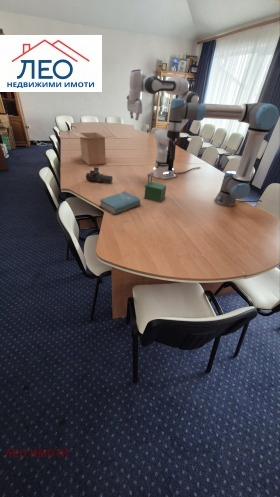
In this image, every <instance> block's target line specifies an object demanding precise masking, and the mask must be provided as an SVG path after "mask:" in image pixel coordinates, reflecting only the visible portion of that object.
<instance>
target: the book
mask: <svg viewBox="0 0 280 497" xmlns="http://www.w3.org/2000/svg"><path fill="white" fill-rule="evenodd" d="M99 201H100V205H99V207H101V208H103V209H104V210H105V211H107V212H109V213H111V214H113V215H116V214H119V213H122V212H124V211H128V210H130V209H132V208H133V209H134V208H135V207H138V206H140V205H141V198H139V197H137V196H135V195H133V194H131V193H128V192H126V191H122V192H119V193H116V194H113V195H110V196H106V197H104V198H100V199H99Z"/></svg>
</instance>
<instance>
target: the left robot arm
mask: <svg viewBox="0 0 280 497" xmlns="http://www.w3.org/2000/svg"><path fill="white" fill-rule="evenodd" d="M128 84H129V91H128V92H129V93H128V95H126V100H127V101H126V107H127V108H126V109H127V112H129V116H130V119H134V114H135V121H139V118H140V115H141V114H143V101H142V93H145V94H150V95H155V94H157V93H159V92H166V94H168V95H171V96H172V95H173V96H175V99H184V100H185V103H186V104H187V103H189V102H192V103H199V100H200V98H199V94H198V93H197V92H195V91H192V90H191V91H190V90H189V88H190V83H189V80H187V79H186V78H183V77H180V76H179V77H178V76H172V77H168V78H167V79H160V78H159V77H158V76H156V75H150V76H148V75H147V74H145V73H144V72H143V71H142V69H141V68H139V69H133V70H131V71H130V74H129V83H128ZM188 122H189V120H188V119H182V125H181V130H182V129H183V128H184V127H185V125H186V124H187V123H188ZM168 130H169V129H168V128H167V129H163V128H161V129H157V130H155V132H154V133H153V134H154V135H153V137H154V140H155V144H156V159H155V165H154V167H153V170H154V171H153V173H154V174H153V175H152V177H154V178H156V179H162V180H169V179H173V178H177V175H180V174H184V173H187V172H190V171H192V170H195V169H201V167H200V166H199V167H193V168H190V169H188V170H186V171H182V172H177V173H176V172H175V169H174V168H173V170H172V171H168V166H169V164H166V160H167V154H168V153H167V150H168V144H169V138H168V137H167V131H168ZM177 140H178V139H175V141H176V142H177Z"/></svg>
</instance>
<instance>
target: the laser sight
mask: <svg viewBox="0 0 280 497" xmlns="http://www.w3.org/2000/svg"><path fill="white" fill-rule="evenodd" d="M85 179H86V180H87V181H90V182H97V183H107V184H108V183H109V184H112V183H113V175H106V174H104V173H100V171H99V167H95V166H94V167H93V170H91V169H90V170H89V172H86V174H85Z"/></svg>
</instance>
